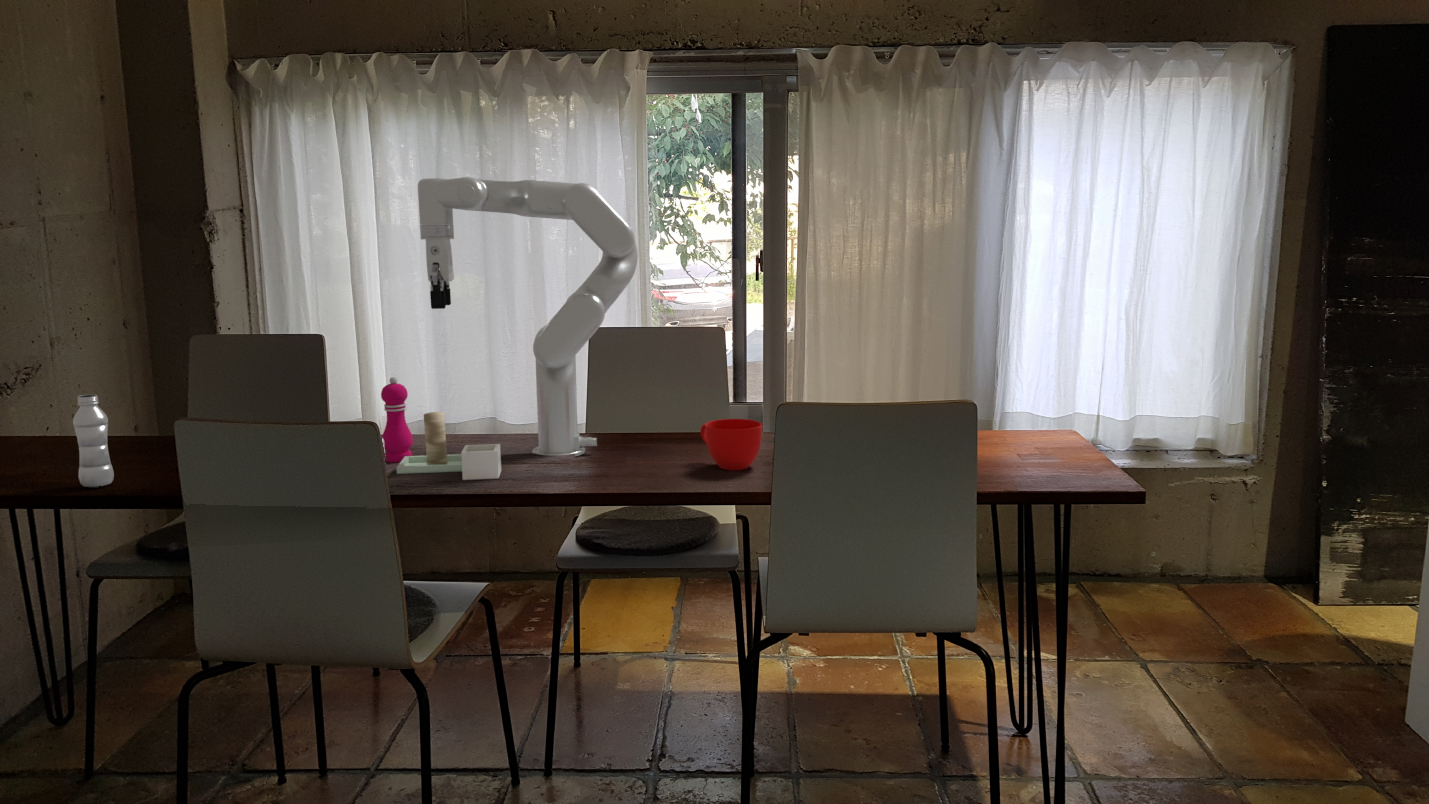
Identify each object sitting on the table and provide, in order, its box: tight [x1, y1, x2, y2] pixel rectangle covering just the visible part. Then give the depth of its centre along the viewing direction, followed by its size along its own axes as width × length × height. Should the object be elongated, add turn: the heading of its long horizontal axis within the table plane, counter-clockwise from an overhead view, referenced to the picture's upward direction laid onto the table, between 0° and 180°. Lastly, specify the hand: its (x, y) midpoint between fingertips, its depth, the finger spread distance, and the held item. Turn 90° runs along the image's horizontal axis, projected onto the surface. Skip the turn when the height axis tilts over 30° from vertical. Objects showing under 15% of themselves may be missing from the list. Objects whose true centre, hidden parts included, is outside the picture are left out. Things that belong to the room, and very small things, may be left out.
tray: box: [396, 453, 462, 475], centre depth 238 cm, size 16×11×2 cm
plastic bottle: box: [72, 394, 115, 488], centre depth 226 cm, size 6×7×20 cm
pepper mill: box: [380, 376, 414, 463], centre depth 249 cm, size 7×7×20 cm
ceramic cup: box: [700, 418, 763, 471], centre depth 240 cm, size 13×17×10 cm
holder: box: [460, 443, 502, 481], centre depth 230 cm, size 8×8×7 cm
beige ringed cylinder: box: [423, 411, 448, 465], centre depth 237 cm, size 4×4×12 cm
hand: (441, 306), depth 246 cm, fingers open, 9 cm apart
